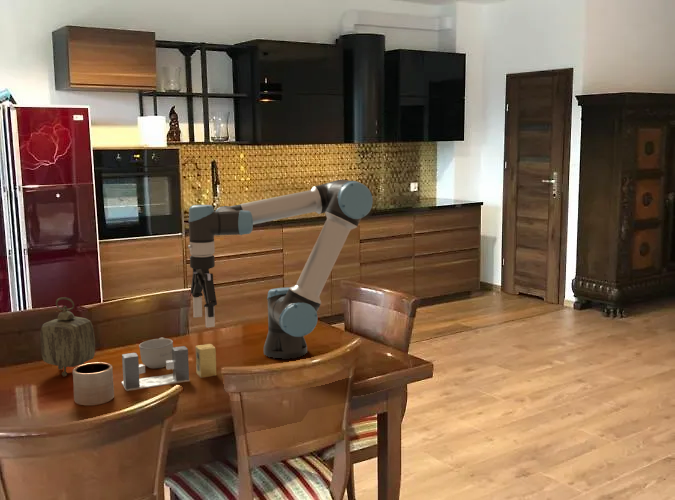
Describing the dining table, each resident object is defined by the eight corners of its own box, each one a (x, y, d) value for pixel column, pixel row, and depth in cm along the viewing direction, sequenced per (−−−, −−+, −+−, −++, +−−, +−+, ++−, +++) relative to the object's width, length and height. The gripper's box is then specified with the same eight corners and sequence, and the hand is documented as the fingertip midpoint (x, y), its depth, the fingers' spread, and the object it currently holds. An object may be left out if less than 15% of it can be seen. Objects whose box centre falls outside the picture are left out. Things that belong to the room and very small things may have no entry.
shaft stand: (182, 373, 225) (181, 343, 223) (189, 380, 218) (188, 349, 216) (121, 382, 217) (119, 351, 215) (126, 391, 209) (124, 358, 208)
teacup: (165, 372, 227) (164, 347, 225) (134, 369, 229) (132, 346, 228) (183, 358, 240) (182, 336, 239) (153, 357, 242) (152, 334, 241)
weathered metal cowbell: (96, 372, 226) (92, 296, 223) (77, 381, 218) (72, 302, 214) (59, 367, 231) (54, 293, 227) (40, 376, 223) (34, 299, 219)
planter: (80, 393, 208) (78, 362, 206) (118, 392, 208) (116, 361, 207) (69, 407, 197) (67, 374, 195) (109, 406, 198) (107, 373, 196)
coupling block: (211, 370, 228) (211, 343, 226) (216, 375, 223) (215, 347, 222) (196, 373, 225) (195, 345, 224) (200, 377, 221) (199, 350, 220)
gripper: (179, 250, 228) (181, 314, 231) (201, 262, 206) (203, 332, 209) (202, 248, 231) (204, 311, 234) (226, 260, 209) (227, 329, 212)
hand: (203, 321), depth 222 cm, fingers open, 13 cm apart
